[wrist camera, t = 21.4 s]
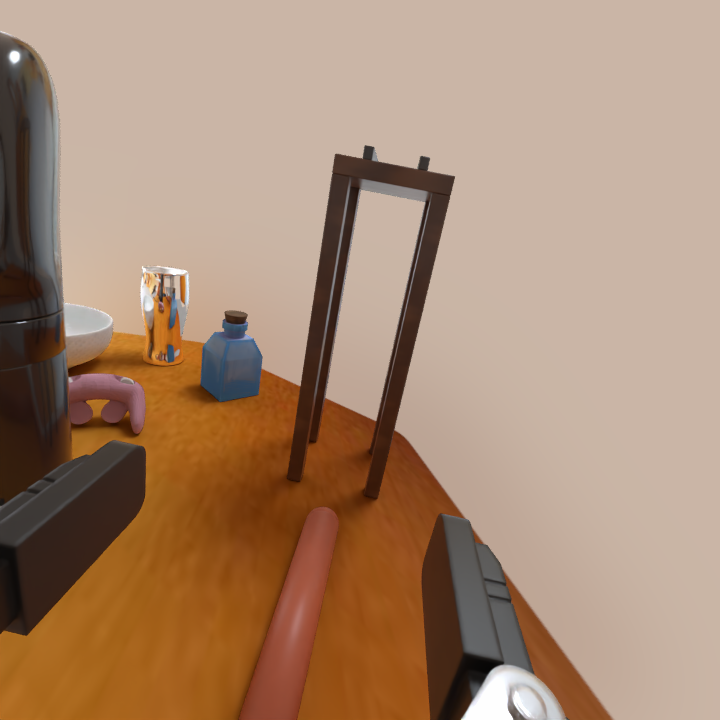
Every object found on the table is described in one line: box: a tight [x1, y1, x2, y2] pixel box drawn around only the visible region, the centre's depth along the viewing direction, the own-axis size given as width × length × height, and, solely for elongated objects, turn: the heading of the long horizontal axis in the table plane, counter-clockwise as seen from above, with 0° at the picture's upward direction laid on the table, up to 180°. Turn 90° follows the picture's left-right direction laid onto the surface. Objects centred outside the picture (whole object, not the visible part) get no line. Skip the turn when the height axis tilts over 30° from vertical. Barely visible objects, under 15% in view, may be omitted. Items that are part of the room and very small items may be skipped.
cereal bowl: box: [64, 303, 113, 369], centre depth 56 cm, size 17×17×7 cm
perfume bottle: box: [201, 311, 262, 402], centre depth 58 cm, size 6×6×12 cm
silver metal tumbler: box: [140, 265, 189, 366], centre depth 64 cm, size 7×7×15 cm
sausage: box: [238, 507, 339, 720], centre depth 26 cm, size 21×3×3 cm, turn 174°
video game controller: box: [68, 373, 145, 434], centre depth 44 cm, size 10×5×7 cm, turn 115°
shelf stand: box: [287, 145, 455, 498], centre depth 42 cm, size 10×10×33 cm
